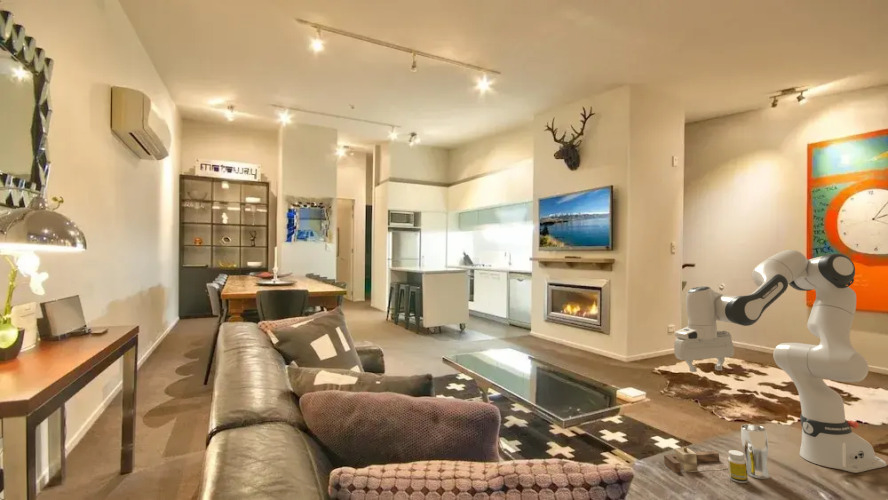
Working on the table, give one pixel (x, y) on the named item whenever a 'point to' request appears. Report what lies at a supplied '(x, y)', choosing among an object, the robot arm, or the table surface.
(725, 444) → the table surface
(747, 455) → the beer glass
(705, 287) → the robot arm
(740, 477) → the supplement bottle
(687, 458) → the block
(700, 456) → the fence board
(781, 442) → the table surface
